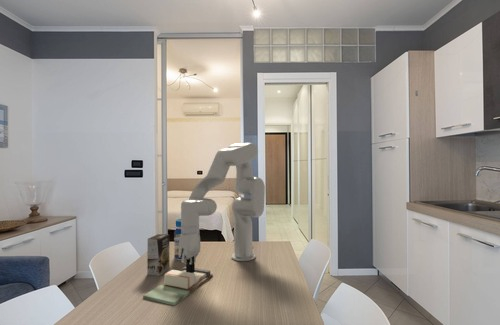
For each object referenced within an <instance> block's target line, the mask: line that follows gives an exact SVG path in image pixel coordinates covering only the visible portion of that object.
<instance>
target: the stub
mask: <svg viewBox="0 0 500 325" xmlns="http://www.w3.org/2000/svg"><path fill="white" fill-rule="evenodd" d="M163 274H164V280H163V283H164V284H165V285H170V286H175V287H180V288H185V289H188V288H190V287H191V286H192V285H194V284H195V273H189V272H183V270H176V269H171V270H170V271H167V272H164V273H163Z"/></svg>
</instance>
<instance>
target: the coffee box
mask: <svg viewBox="0 0 500 325" xmlns="http://www.w3.org/2000/svg"><path fill="white" fill-rule="evenodd" d="M146 254H147V256H146V257H147V260H146V261H147V262H146V263H147V264H146V265H147V266H146V268H147V269H146V270H147V275H148V276H149V275H150V276H158V277H160V276H162V274H165V273H166V271H168V270H169V269H170V267H171V266H170V261H171V260H170V257H171V256H170V234H167V233H165V234H161V233H160V234H159V233H157V234H156V235H152V236H151V237H149V238H147V253H146Z"/></svg>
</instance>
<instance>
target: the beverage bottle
mask: <svg viewBox="0 0 500 325" xmlns="http://www.w3.org/2000/svg"><path fill="white" fill-rule="evenodd" d="M173 234H174V238H173V240H174V241H173V242H174V243H173V244H174V248H173V249H174V259H175V260H176V261H182V258H179V256H178V250H179V239H180V234H181V218H179V219H175V230H174V233H173Z"/></svg>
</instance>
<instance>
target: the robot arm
mask: <svg viewBox="0 0 500 325" xmlns="http://www.w3.org/2000/svg"><path fill="white" fill-rule="evenodd" d="M258 152H259V151H258V147H257V145H255V144H254V143H253V142H244V143H233V144H231V145H229V146H227V148H222V149H221V148H220V149H219V150H218V151H217V152H215V155H214V158H213V160H212V162H211V166H210V167H209V170H208V172H207V173H206V174H207V175H205V176H204V177H203V178H202V179H201V180H200V181H199V182H198V183H197V184H196V185H195V187H194V188H193V189H192V191H191V194H190V195H189V199H185V200H182V201H181V204H180V219H181V234H180V239H179V250H178V256H179V258H182V260H180V261H181V263H183V264H185V266H186V272H189V273H194V272H195V268H196V267H195V266H196V259H197V257H198V256H199V254H200V252H201V236H200V217H202V216H203V217H205V216H207V217H208V216H211V215H213V214H215V213H216V210H217V208H218V207H217V202H216V201H215V200H214V199H212V198H207V197H205V196H206V195H207V193H208V192H209V191H211V190H212V189H214V188H216V187H219V186H220V185H222V184H223V183H224V182H225V179H226V176H227V174H228V172H229V170H230V167H235V168H236V169H235V170H236V174H235V175H236V176H235V177H236V178H235V180H236V181H235V189H236V190H235V191H236V193H238V194H239V195H244V196H240V197H237V198H235V199H234V200H233V202H232V206H231V208H232V210H231V211H232V214H233V226H234V227H233V228H234V229H233V230H234V231H233V234H234V235H233V236H234V237H233V238H234V241H233V243H234V244H233V247H234V251H233V253H232V254H231V259H232V260H233V261H237V262H248V261H249V262H250V261H253V260H254V259H256V253H254V252H253V249H254V248H255V247H254V245H253V222H252V221H253V220H252V218H260V217H261V216H262V215H263V214H264V210H265V199H266V198H265V196H266V195H265V192H266V188H265V182H264V181H263V179H262V178H260V177H258V176H253V166H252V164H251V162H252V160H254V159H256V158H257V155H258ZM245 196H246V197H245ZM248 196H250V197H248Z"/></svg>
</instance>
